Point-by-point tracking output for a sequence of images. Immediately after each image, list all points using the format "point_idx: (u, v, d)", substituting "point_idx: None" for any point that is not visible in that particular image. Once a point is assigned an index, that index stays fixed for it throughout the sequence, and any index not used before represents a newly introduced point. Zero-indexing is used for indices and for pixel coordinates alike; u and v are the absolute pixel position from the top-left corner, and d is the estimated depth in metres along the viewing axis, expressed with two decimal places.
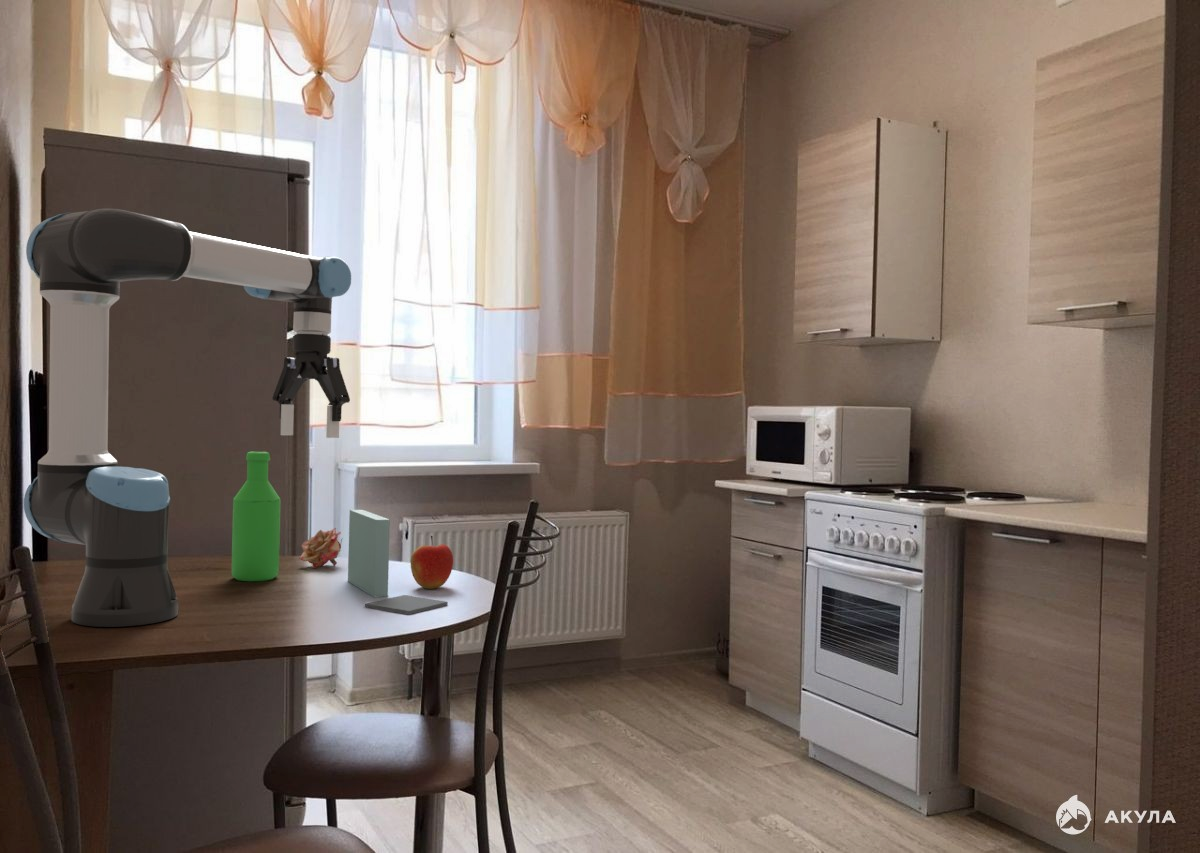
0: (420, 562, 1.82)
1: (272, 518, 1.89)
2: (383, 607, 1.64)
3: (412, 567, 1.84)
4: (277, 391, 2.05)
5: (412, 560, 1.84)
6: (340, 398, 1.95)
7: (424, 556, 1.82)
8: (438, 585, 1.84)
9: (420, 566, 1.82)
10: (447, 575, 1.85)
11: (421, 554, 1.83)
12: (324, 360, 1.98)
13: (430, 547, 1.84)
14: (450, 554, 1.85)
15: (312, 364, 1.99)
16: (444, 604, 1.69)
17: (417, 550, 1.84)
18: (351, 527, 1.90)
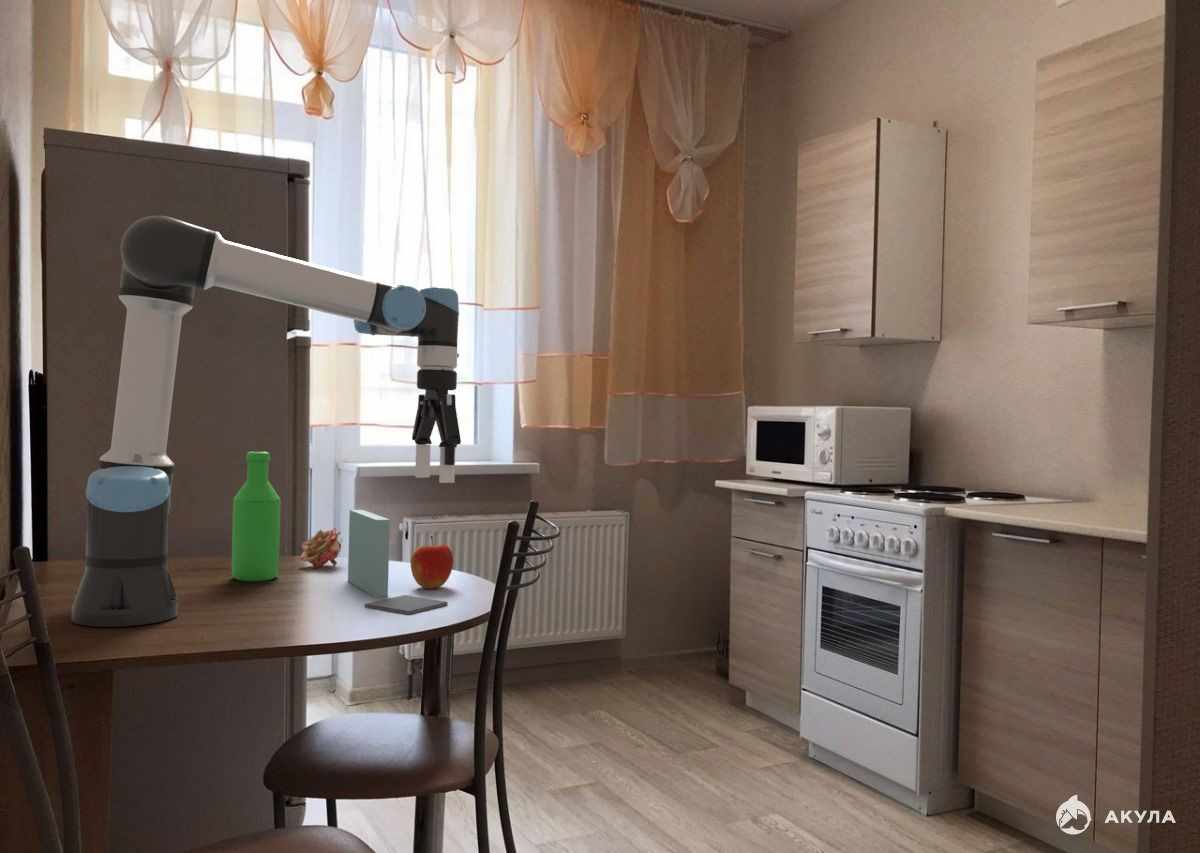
0: (420, 562, 1.82)
1: (272, 518, 1.89)
2: (383, 607, 1.64)
3: (412, 567, 1.84)
4: (414, 430, 1.93)
5: (412, 560, 1.84)
6: (448, 440, 1.77)
7: (424, 556, 1.82)
8: (438, 585, 1.84)
9: (420, 566, 1.82)
10: (447, 575, 1.85)
11: (421, 554, 1.83)
12: None
13: (430, 547, 1.84)
14: (450, 554, 1.85)
15: (432, 402, 1.83)
16: (444, 604, 1.69)
17: (417, 550, 1.84)
18: (351, 527, 1.90)
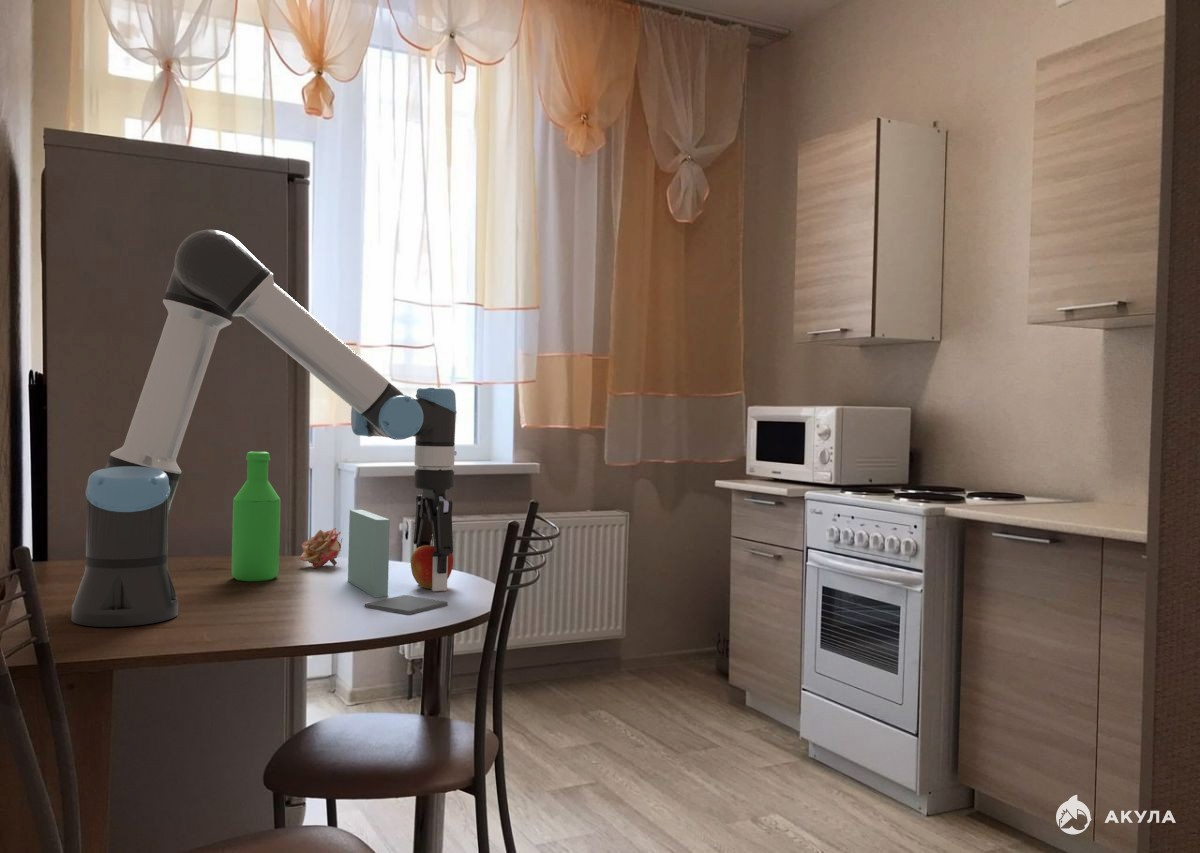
0: (420, 562, 1.82)
1: (272, 518, 1.89)
2: (383, 607, 1.64)
3: (412, 567, 1.84)
4: (415, 533, 1.91)
5: (412, 560, 1.84)
6: (440, 550, 1.79)
7: (424, 556, 1.82)
8: None
9: (420, 566, 1.82)
10: (447, 575, 1.85)
11: (421, 554, 1.83)
12: (439, 500, 1.82)
13: (430, 547, 1.84)
14: (450, 554, 1.85)
15: (429, 503, 1.83)
16: (444, 604, 1.69)
17: (417, 550, 1.84)
18: (351, 527, 1.90)
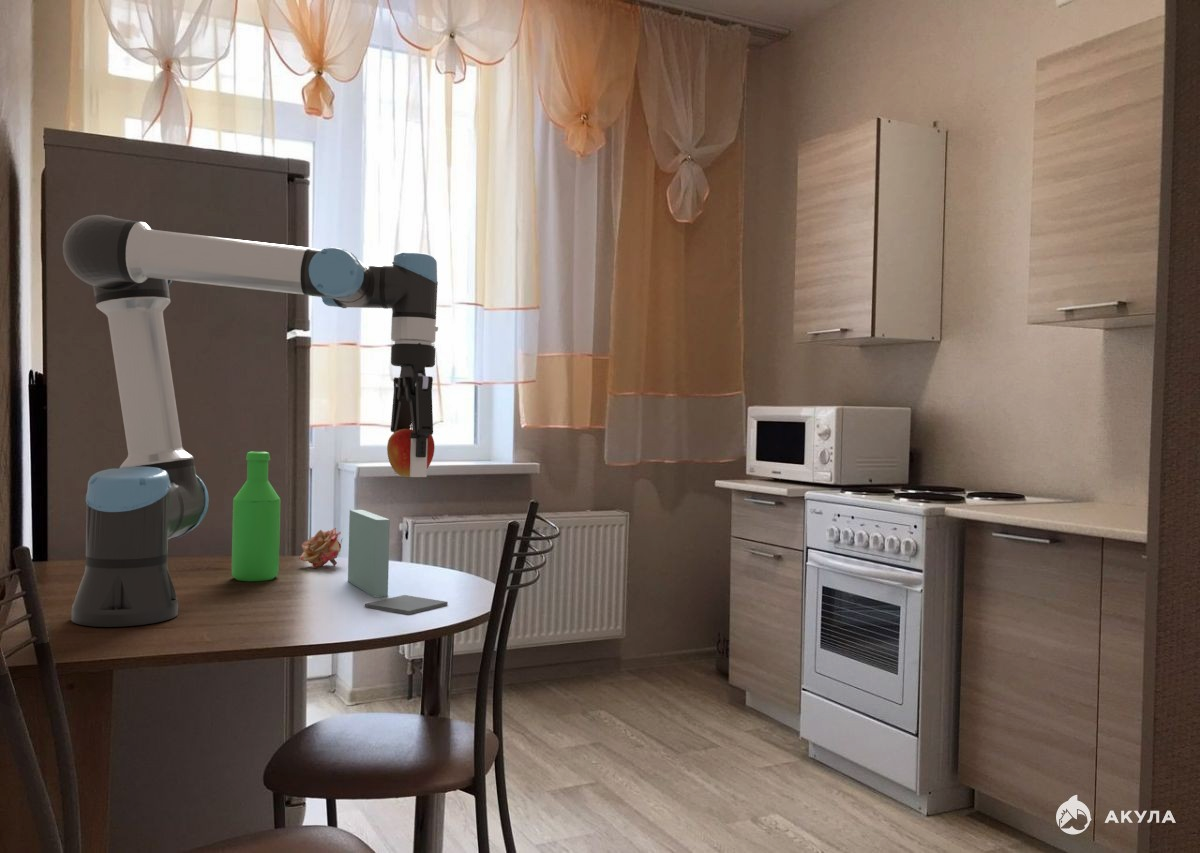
0: (397, 445, 1.64)
1: (272, 518, 1.89)
2: (383, 607, 1.64)
3: (389, 452, 1.66)
4: (392, 420, 1.73)
5: (389, 444, 1.66)
6: (419, 430, 1.61)
7: (402, 439, 1.64)
8: None
9: (397, 450, 1.64)
10: (427, 461, 1.67)
11: (398, 437, 1.65)
12: None
13: (409, 430, 1.66)
14: (431, 439, 1.67)
15: (407, 381, 1.65)
16: (444, 604, 1.69)
17: (394, 433, 1.66)
18: (351, 527, 1.90)
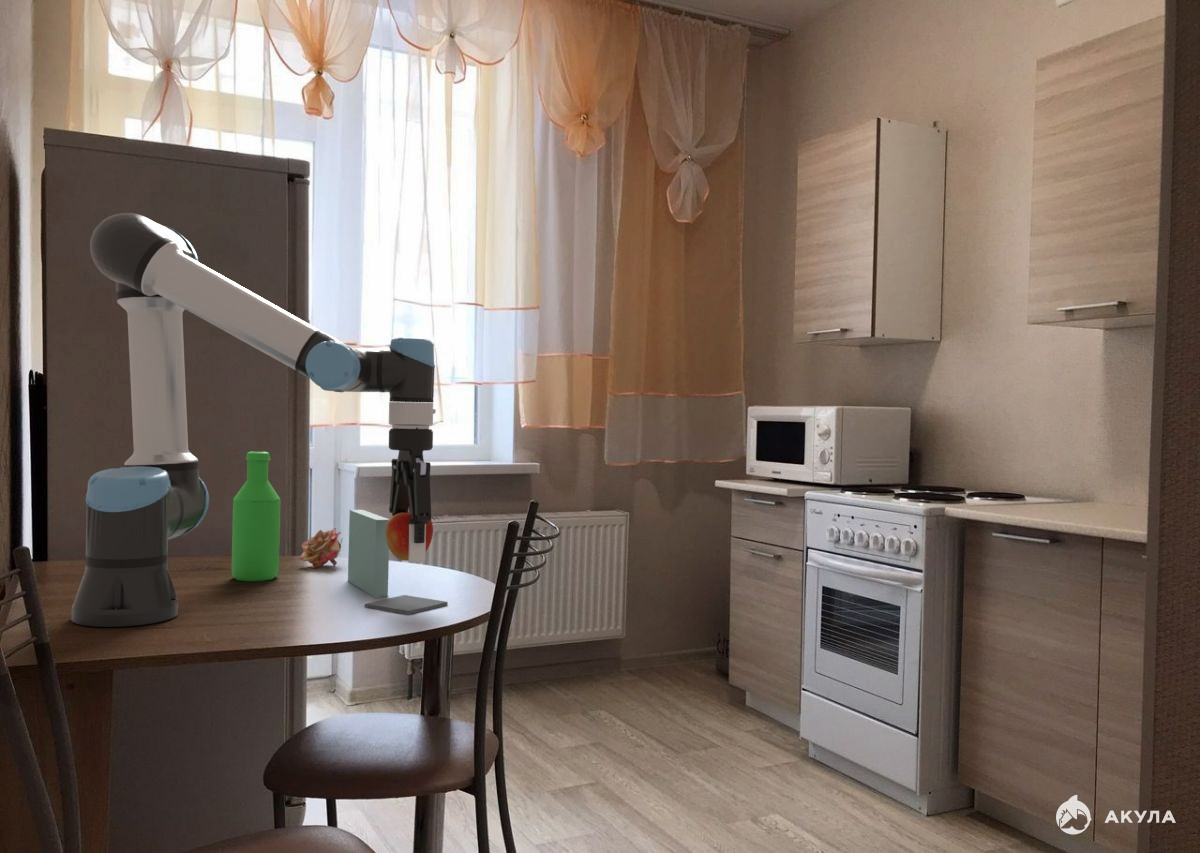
0: (396, 530, 1.64)
1: (272, 518, 1.89)
2: (383, 607, 1.64)
3: (387, 536, 1.66)
4: (391, 501, 1.73)
5: (387, 529, 1.66)
6: (417, 517, 1.61)
7: (400, 524, 1.64)
8: None
9: (396, 536, 1.64)
10: (426, 545, 1.67)
11: (397, 522, 1.65)
12: None
13: (407, 514, 1.66)
14: (429, 522, 1.67)
15: (405, 466, 1.65)
16: (444, 604, 1.69)
17: (393, 518, 1.66)
18: (351, 527, 1.90)
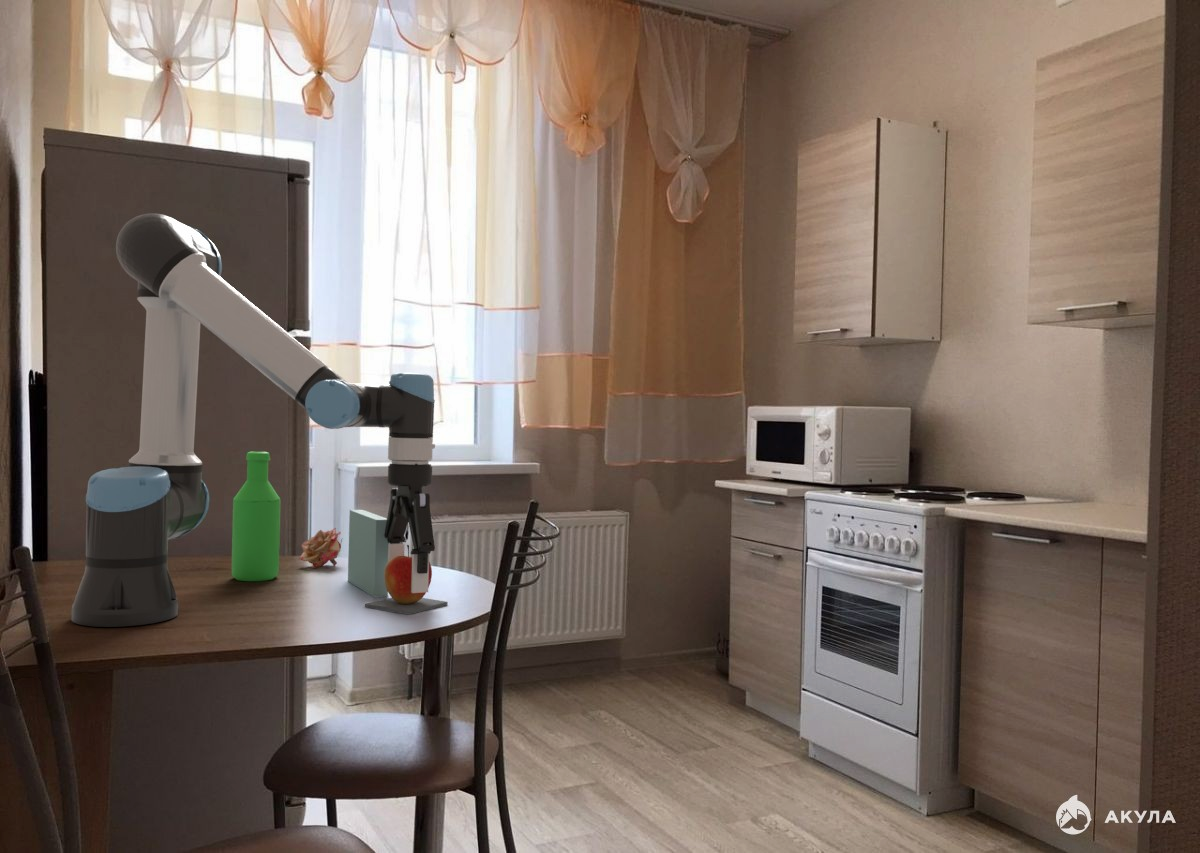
0: (394, 574, 1.64)
1: (272, 518, 1.89)
2: (383, 607, 1.64)
3: (386, 580, 1.66)
4: (387, 527, 1.75)
5: (386, 572, 1.66)
6: (420, 547, 1.59)
7: (398, 568, 1.64)
8: (414, 600, 1.66)
9: (394, 579, 1.64)
10: None
11: (395, 566, 1.65)
12: None
13: (406, 558, 1.66)
14: None
15: (404, 500, 1.65)
16: (444, 604, 1.69)
17: (391, 561, 1.66)
18: (351, 527, 1.90)
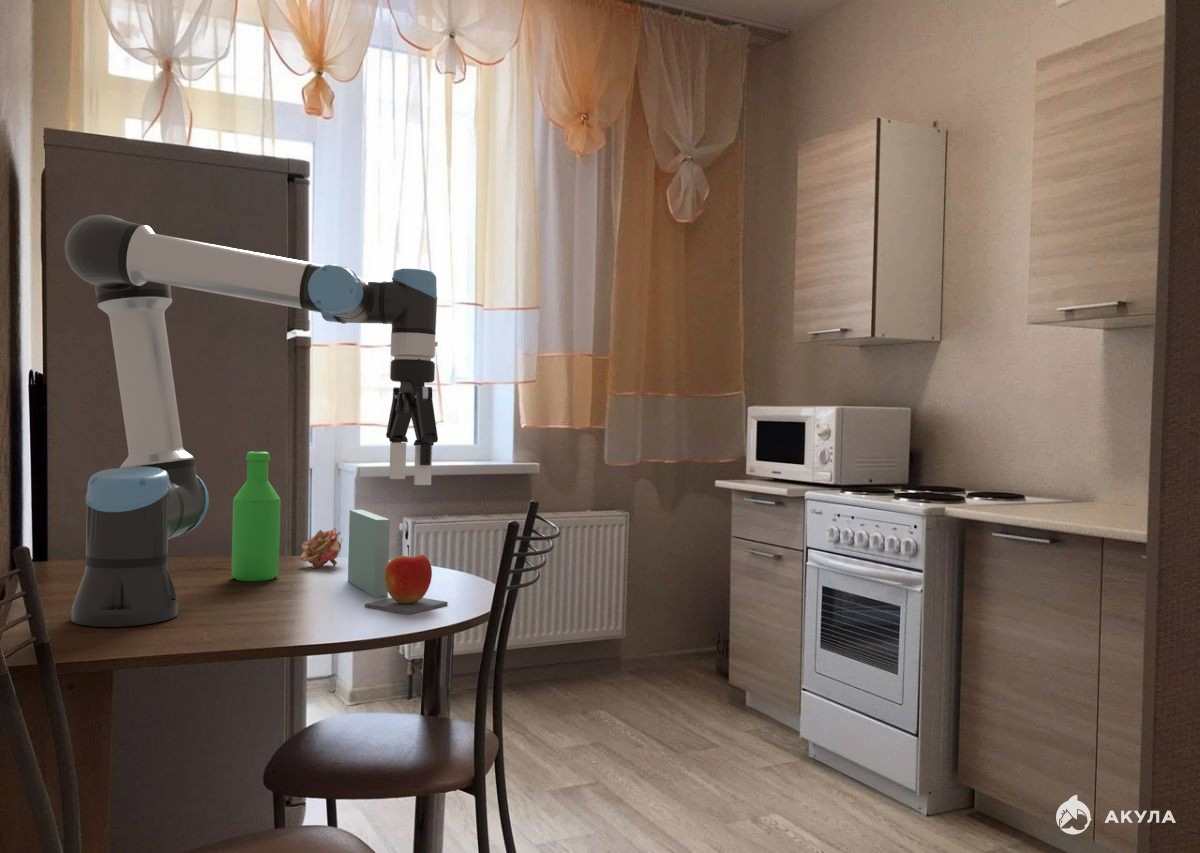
0: (394, 574, 1.64)
1: (272, 518, 1.89)
2: (383, 607, 1.64)
3: (386, 580, 1.66)
4: (389, 427, 1.75)
5: (386, 572, 1.66)
6: (423, 437, 1.59)
7: (398, 568, 1.64)
8: (415, 600, 1.66)
9: (394, 579, 1.64)
10: (425, 589, 1.66)
11: (395, 566, 1.65)
12: None
13: (406, 558, 1.66)
14: (428, 566, 1.67)
15: (407, 395, 1.65)
16: (444, 604, 1.69)
17: (391, 561, 1.66)
18: (351, 527, 1.90)
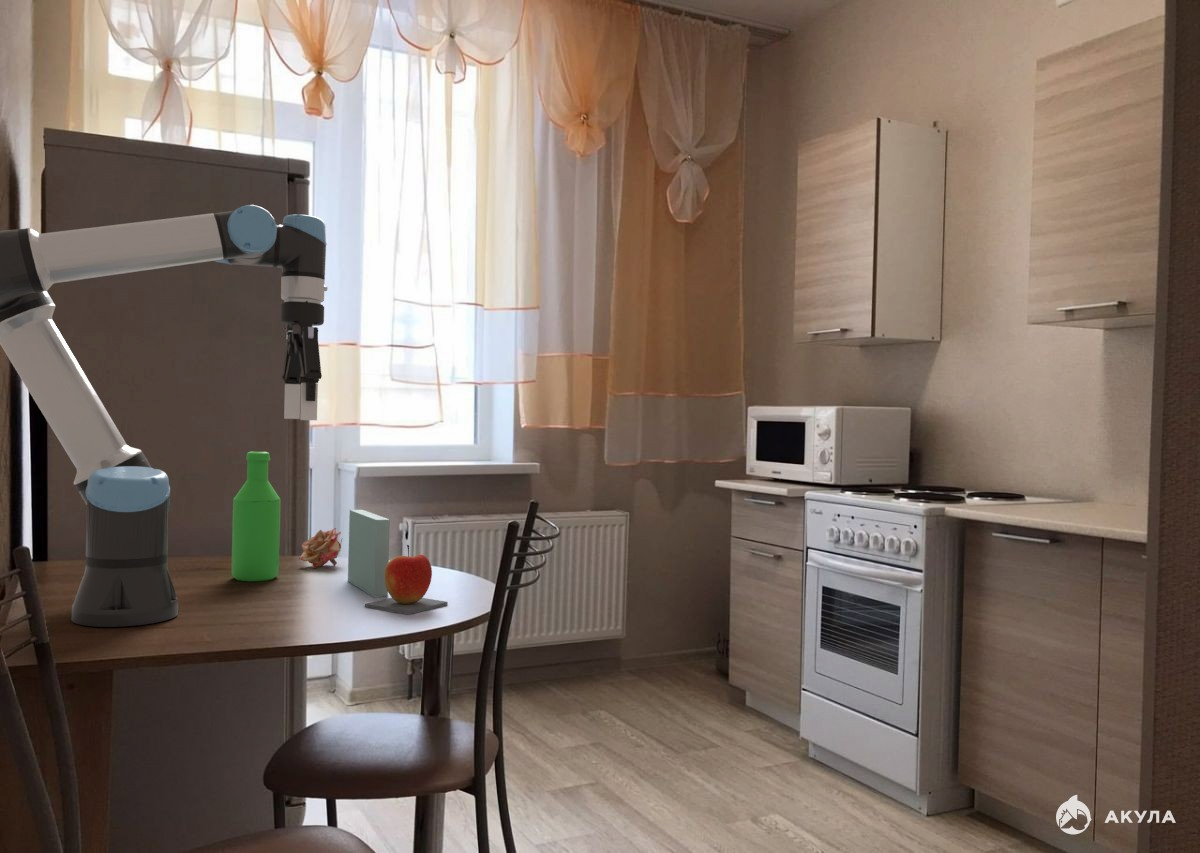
0: (394, 574, 1.64)
1: (272, 518, 1.89)
2: (383, 607, 1.64)
3: (386, 580, 1.66)
4: (284, 369, 1.83)
5: (386, 572, 1.66)
6: (307, 373, 1.67)
7: (398, 568, 1.64)
8: (415, 600, 1.66)
9: (394, 579, 1.64)
10: (425, 589, 1.66)
11: (395, 566, 1.65)
12: None
13: (406, 558, 1.66)
14: (428, 566, 1.67)
15: (295, 336, 1.73)
16: (444, 604, 1.69)
17: (391, 561, 1.66)
18: (351, 527, 1.90)
